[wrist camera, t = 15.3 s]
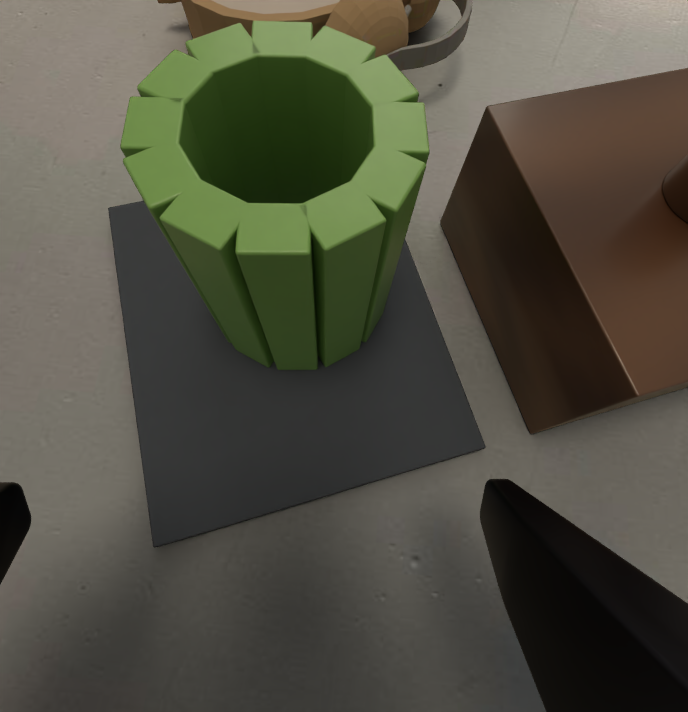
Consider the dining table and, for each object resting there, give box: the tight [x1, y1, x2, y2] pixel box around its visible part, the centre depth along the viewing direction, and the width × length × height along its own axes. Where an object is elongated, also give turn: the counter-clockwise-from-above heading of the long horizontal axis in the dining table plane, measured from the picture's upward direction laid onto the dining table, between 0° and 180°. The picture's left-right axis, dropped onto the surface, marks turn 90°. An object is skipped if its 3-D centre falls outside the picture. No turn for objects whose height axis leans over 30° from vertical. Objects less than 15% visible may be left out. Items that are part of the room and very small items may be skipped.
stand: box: [440, 68, 688, 434], centre depth 14 cm, size 10×10×9 cm
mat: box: [108, 201, 485, 547], centre depth 17 cm, size 14×12×1 cm
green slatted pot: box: [120, 21, 429, 370], centre depth 14 cm, size 7×7×8 cm
